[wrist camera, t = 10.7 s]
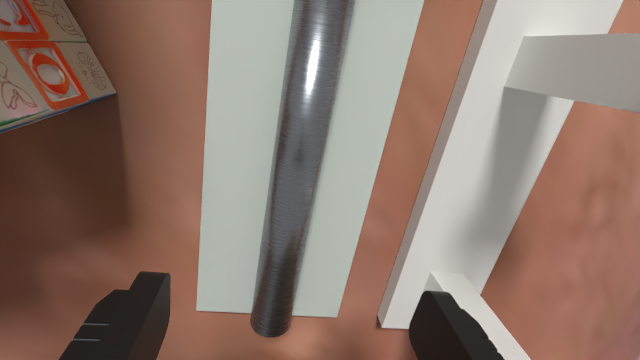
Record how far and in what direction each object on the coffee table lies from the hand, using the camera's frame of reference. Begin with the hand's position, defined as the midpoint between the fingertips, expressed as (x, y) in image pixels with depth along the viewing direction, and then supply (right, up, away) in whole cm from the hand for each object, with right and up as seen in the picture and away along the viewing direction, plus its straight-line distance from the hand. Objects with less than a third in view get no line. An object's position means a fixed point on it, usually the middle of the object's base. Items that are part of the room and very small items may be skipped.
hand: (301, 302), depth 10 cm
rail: (-1, +5, +12) cm, 13 cm away
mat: (-1, +5, +12) cm, 14 cm away
